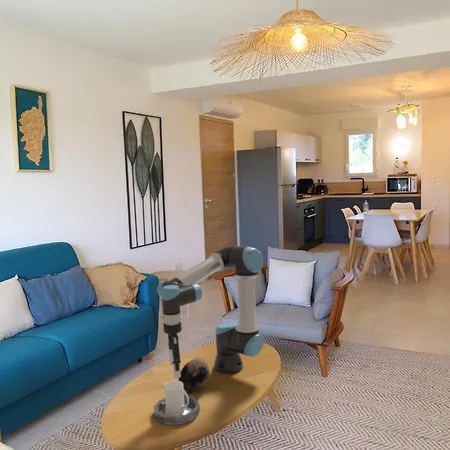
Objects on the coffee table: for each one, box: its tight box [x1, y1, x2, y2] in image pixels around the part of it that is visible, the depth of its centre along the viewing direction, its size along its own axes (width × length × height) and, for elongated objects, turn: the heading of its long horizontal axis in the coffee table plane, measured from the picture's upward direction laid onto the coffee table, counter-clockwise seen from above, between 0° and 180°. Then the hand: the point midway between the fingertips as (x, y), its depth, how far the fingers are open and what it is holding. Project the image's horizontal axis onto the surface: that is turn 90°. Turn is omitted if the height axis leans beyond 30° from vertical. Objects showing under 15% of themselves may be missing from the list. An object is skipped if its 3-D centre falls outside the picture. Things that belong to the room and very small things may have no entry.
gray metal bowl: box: [153, 394, 201, 426], centre depth 198 cm, size 19×19×3 cm
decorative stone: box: [177, 357, 211, 393], centre depth 217 cm, size 18×9×15 cm, turn 137°
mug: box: [163, 380, 189, 416], centre depth 196 cm, size 12×8×12 cm
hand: (175, 370), depth 196 cm, fingers open, 13 cm apart
